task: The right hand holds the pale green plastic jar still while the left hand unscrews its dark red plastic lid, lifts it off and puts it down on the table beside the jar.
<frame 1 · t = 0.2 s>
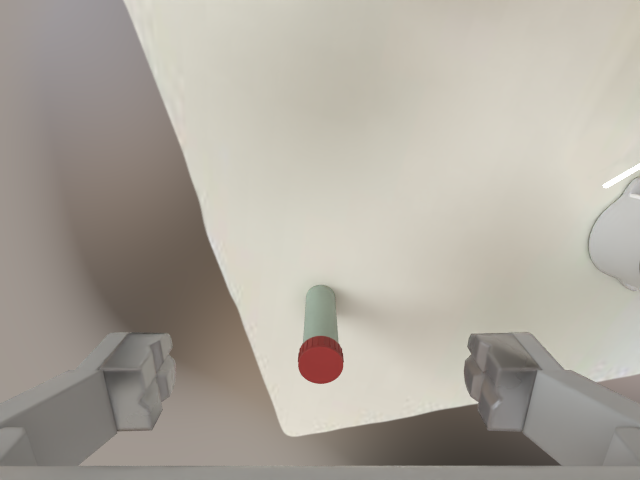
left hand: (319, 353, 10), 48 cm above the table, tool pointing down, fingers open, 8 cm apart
lid: (320, 363, 48), point 17 cm above the table, screwed on, not yet turned
jar: (320, 298, 64), on the table
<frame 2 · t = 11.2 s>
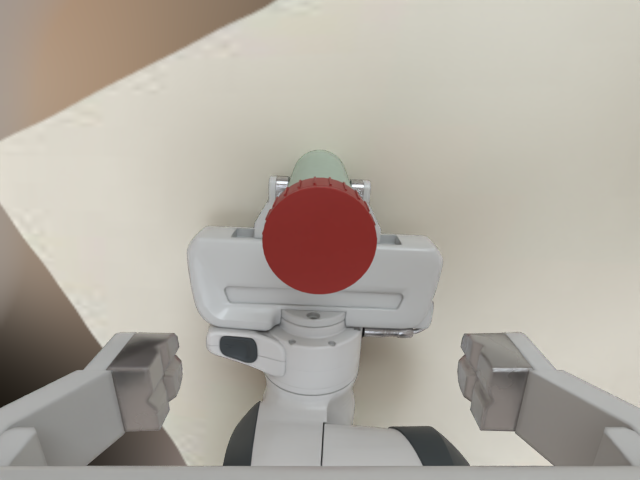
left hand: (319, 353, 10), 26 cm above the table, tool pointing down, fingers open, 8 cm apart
lid: (319, 241, 19), point 17 cm above the table, screwed on, not yet turned
jar: (319, 176, 35), on the table, touching right hand
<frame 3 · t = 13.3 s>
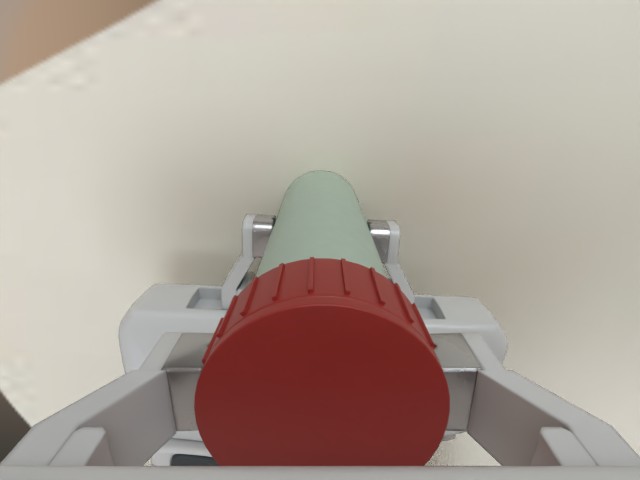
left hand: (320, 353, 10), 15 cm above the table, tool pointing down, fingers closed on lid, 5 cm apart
lid: (322, 405, 9), point 17 cm above the table, screwed on, not yet turned, touching left hand
jar: (320, 207, 25), on the table, touching right hand
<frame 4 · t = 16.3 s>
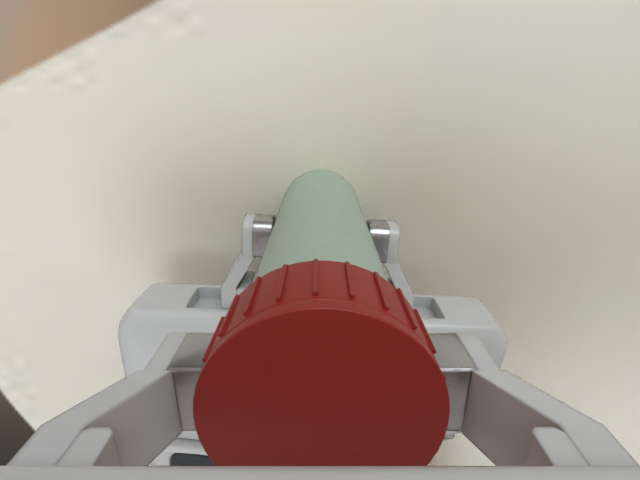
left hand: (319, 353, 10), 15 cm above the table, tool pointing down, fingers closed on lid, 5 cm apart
lid: (321, 408, 9), point 17 cm above the table, turned 76° so far, risen 0.1 cm, still on its thread, touching left hand
jar: (320, 207, 25), on the table, touching right hand
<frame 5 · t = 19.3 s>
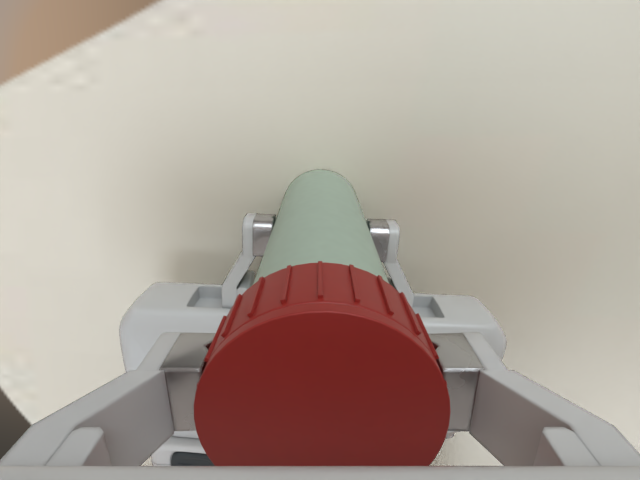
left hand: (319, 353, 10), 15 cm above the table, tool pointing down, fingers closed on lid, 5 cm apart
lid: (321, 410, 9), point 17 cm above the table, turned 152° so far, risen 0.2 cm, still on its thread, touching left hand
jar: (320, 206, 25), on the table, touching right hand
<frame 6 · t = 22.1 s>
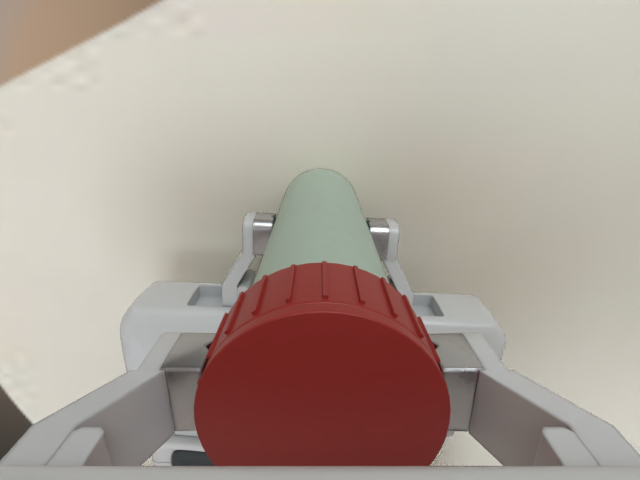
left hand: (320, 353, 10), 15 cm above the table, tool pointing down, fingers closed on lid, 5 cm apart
lid: (322, 410, 9), point 17 cm above the table, turned 228° so far, risen 0.3 cm, still on its thread, touching left hand
jar: (320, 205, 25), on the table, touching right hand
when the left hand's fingers open (2 cm above the table, at t = 32.1 s): lid drops 2 cm, point 2 cm above the table.
when the right hand's fingers open (6 cm above the table, at t = 33.1 s): jar stays where it is, on the table.
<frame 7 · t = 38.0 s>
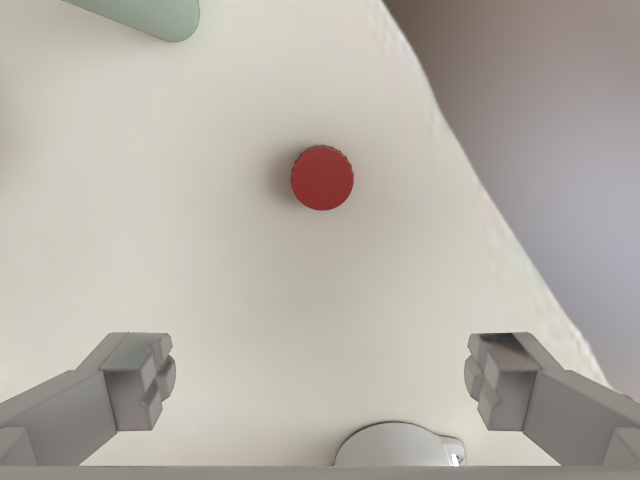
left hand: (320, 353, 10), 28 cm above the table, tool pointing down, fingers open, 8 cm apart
lid: (322, 179, 35), point 2 cm above the table, off its thread
jar: (170, 9, 32), on the table
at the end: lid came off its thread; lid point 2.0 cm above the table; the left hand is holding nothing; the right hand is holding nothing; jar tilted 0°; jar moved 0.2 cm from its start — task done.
